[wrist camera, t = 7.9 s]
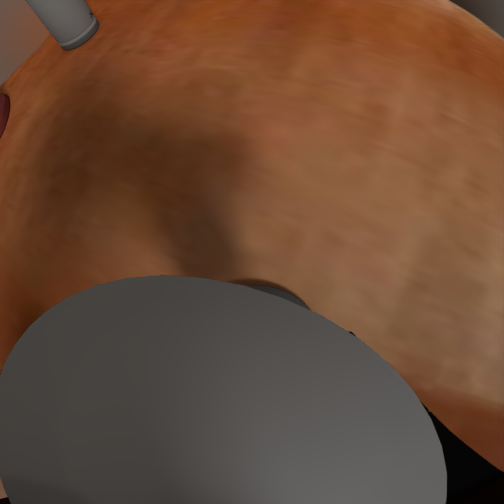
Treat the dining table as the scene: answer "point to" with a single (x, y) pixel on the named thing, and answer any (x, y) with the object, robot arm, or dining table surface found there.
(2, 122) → the stacking bear
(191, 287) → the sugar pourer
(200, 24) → the dining table surface
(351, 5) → the dining table surface
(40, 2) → the travel mug
